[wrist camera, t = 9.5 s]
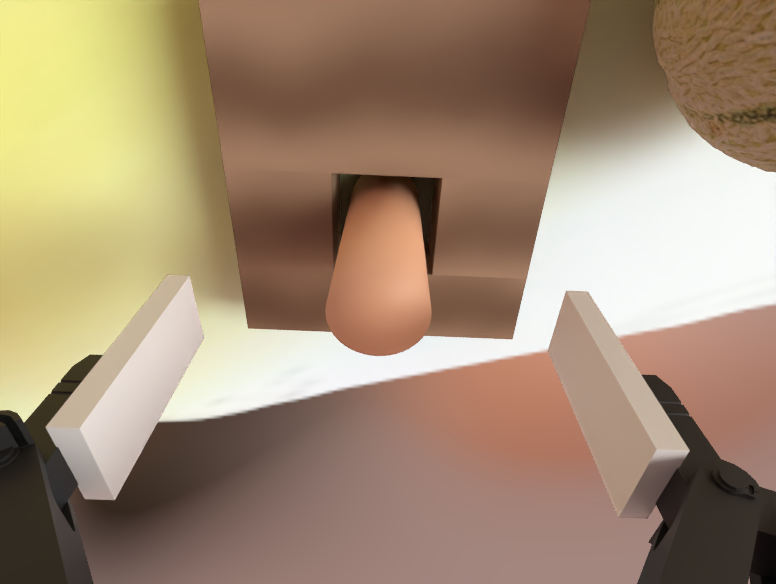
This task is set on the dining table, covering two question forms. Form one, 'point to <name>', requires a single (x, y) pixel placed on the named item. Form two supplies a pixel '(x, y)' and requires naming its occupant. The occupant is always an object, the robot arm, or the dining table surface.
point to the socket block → (390, 140)
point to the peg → (380, 270)
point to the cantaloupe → (723, 72)
